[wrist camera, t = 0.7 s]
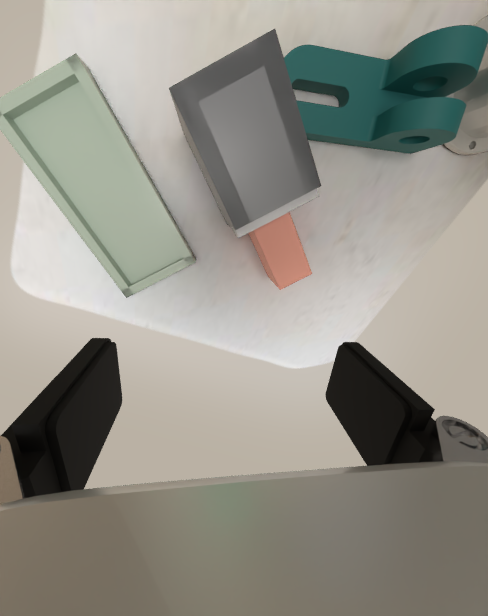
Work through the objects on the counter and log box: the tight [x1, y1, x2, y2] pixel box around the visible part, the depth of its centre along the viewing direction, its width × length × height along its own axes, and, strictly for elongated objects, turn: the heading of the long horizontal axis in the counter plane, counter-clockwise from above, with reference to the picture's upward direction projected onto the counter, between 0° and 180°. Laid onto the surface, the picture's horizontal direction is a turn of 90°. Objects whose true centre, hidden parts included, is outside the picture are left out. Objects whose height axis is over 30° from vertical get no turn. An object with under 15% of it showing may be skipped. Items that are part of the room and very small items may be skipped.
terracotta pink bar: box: [249, 212, 312, 290], centre depth 26 cm, size 4×16×6 cm, turn 26°
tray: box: [0, 54, 196, 298], centre depth 25 cm, size 9×20×2 cm, turn 26°
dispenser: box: [169, 29, 321, 238], centre depth 22 cm, size 11×8×10 cm
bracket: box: [284, 25, 488, 154], centre depth 23 cm, size 18×7×8 cm, turn 86°
